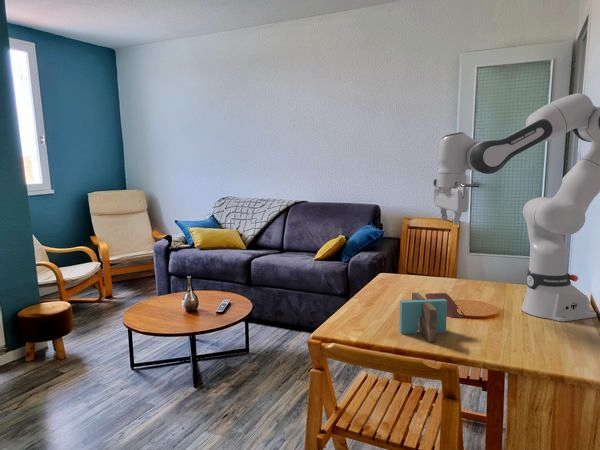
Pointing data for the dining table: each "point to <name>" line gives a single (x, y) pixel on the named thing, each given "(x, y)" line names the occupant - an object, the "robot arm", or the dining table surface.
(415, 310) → the teal slotted plate
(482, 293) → the dining table surface
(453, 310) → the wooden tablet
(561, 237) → the robot arm
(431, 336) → the walnut slotted plate
